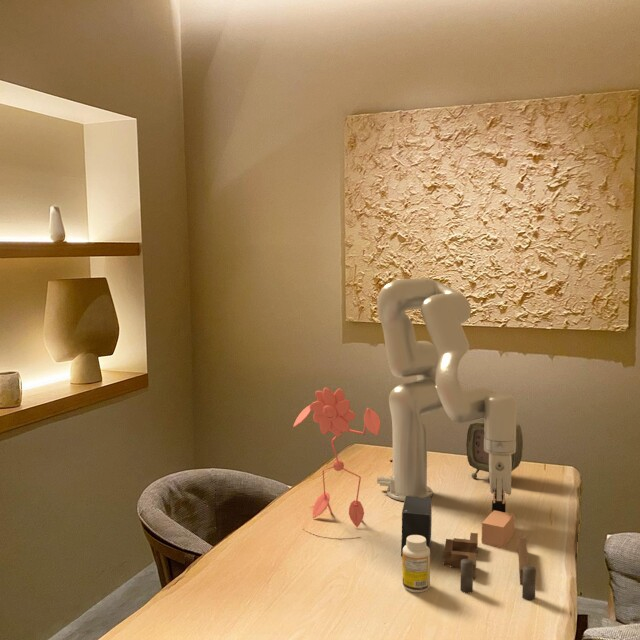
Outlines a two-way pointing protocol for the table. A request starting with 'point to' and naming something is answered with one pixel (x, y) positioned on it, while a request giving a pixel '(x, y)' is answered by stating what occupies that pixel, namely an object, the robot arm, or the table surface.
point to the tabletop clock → (476, 448)
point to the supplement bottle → (416, 564)
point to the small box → (416, 519)
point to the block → (497, 528)
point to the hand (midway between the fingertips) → (498, 517)
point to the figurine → (334, 418)
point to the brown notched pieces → (464, 558)
